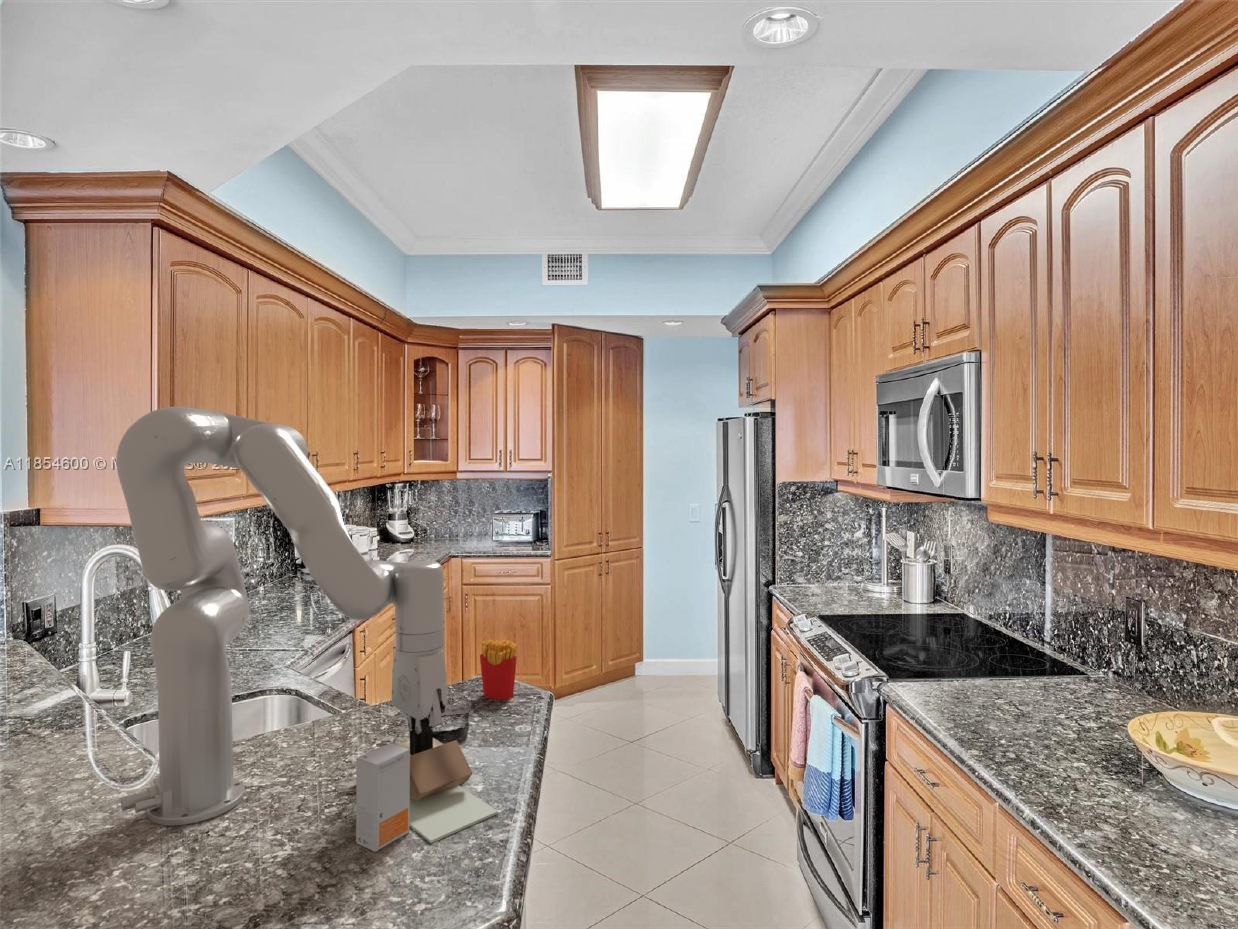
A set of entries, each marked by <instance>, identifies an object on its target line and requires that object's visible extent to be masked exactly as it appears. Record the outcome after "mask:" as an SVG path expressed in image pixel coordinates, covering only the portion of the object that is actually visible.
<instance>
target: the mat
mask: <svg viewBox="0 0 1238 929" xmlns="http://www.w3.org/2000/svg"><path fill="white" fill-rule="evenodd" d="M498 814H499V812H498V810H497V809H495V808H494V807H492V806H491V805H489V804H488V803H486V801H485V802H484V801H483V800H482V799H480V798H479V797H477V796H475V795H474V794H473V793H471V792H470V791H469V790H467V789H464V788H463V787H462V786H460V784H459V785H457V786H454V787H452V788H449V789H447V790H444V791H442V792H439V793H437V794H434V795H432V796H429V797H427V798H424V799H422V800H419V801H417V802H415V801H414V799H412V800H410V820H409V828H411V829H412V830H413V831H415V833H417V834H418V835H419V836H421V837H422V838H424V840H426V841H427V842H428V843H429V844H432V843H436V842H437V841H439V840H441V839H444V838H446V837H448V836H452V835H453V834H455V833H457V832H460V831H463V830H466V829H467V828H468V827H471V826H474V825H475V824H479V823H480V822H482V821H485V820H487V819H489V818H491V817H493V816H496V815H498Z"/></svg>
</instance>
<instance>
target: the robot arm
mask: <svg viewBox="0 0 1238 929" xmlns="http://www.w3.org/2000/svg"><path fill="white" fill-rule="evenodd" d="M308 448H309V447H308V444H307V442H306V440H305V438H304V436H303V435H302V434H301V433H300V432H299V431H298V430H296V429H295V428H293V427H292V426H289V425H285V424H280V423H273V422H268V421H263V420H257V419H253V418H247V417H244V416H239V415H235V414H230V413H225V412H221V411H216V410H211V409H203V408H196V407H195V408H194V407H187V406H168V407H163V408H162V407H161V408H158V409H154V410H152V411H149V412H148V413H146V414H144V415H142V416H141V417H139V418H138V419H136V421H134V423H132V424H131V426H129V428H128V429H127V430H126V431H125V433H124V434H123V435H122V437H121V440H120V442H119V445H118V448H117V451H116V470H117V475H118V480H119V483H120V488H121V490H122V493H123V496H124V499H125V504H126V507H127V511H128V514H129V518H130V524H131V527H132V528H131V529H132V533H133V535H134V540H135V544H136V547H137V551H138V555H139V560H140V563H141V567H142V570H143V574H144V575H145V578H146V579H147V581H148V582H149V583H150V584H151V585H152V586H153V587H155V589H156V588H157V589H158V590H162V591H166V592H167V591H168V592H175V591H179V592H180V595H181V599H179V600H176V601H175V602H173V603H172V604H170V605H169V606H168V607H166V608H165V609H164V610H163V611H161V613H160V615H159V616H158V617H157V618H156V620H155V622H154V624H153V626H152V628H151V633H150V650H151V655H152V661H153V665H154V668H155V675H156V688H157V689H156V691H157V715H158V755H159V756H158V758H159V768H158V769H159V777H158V778H155V779H153V785H152V786H149V787H147V788H146V790H145V791H141V792H138V793H136V792H135V793H131V794H130V795H125V796H122V797H120V808H121V812H124V811H125V812H126V811H128V810H132V809H134V812H135V814H137V813H141V812H144V811H147V818H148V819H149V820H150V821H151V822H152V823H155V824H158V825H161V826H182V825H183V826H184V825H190V824H197V823H200V822H202V821H207V820H209V819H213V818H216V817H218V816H221V815H222V814H225V813H226V812H229V811H230V810H231V809H233V808H235V807H236V806H237V805H238V804H240V802H241V801H242V800H243V799H244V797H245V794H246V790H245V789H246V788H245V784H244V783H243V782H242V781H241V780H239V779H236V778H234V750H233V749H234V748H233V747H234V746H233V742H234V741H233V740H234V739H233V737H234V736H233V696H232V693H233V692H232V676H231V670H230V669H231V668H230V665H229V661H228V656H227V644H229V643H230V642H231V641H233V640H234V639H235V638H237V637H238V636H239V635H240V634H241V633H242V631H243V630H244V629H245V627H247V624H248V622H249V617H250V602H249V596H248V594H247V590H246V586H245V581H244V577H243V572H242V569H241V565H240V562H239V559H238V554H237V551H236V548H235V547H236V546H235V544H234V543H233V541H232V539H231V537H230V535H229V534H228V533H227V531H226V530H225V529H223V527H221V526H219V525H217V524H216V523H213V522H210V521H206V520H202V519H201V516H200V513H199V510H198V506H197V505H198V504H197V501H196V496H195V494H194V491H193V489H192V486H191V484H190V482H189V481H188V479H187V477H186V474H185V467H186V466H187V465H191V464H192V465H193V464H212V465H217V466H224V467H228V468H233V469H237V470H240V471H241V472H242V473H243V474H244V476H245V477H246V478H247V479H248V481H249V482H250V483H251V485H252V486H253V487H254V489H256V491H257V492H258V493H259V495H260V496H261V497H262V498H263V500H264V501H265V502H266V504H267V505H268V506H269V507H270V509H271V510H272V511H273V512H274V514H275V515H276V517H277V518H278V519H279V521H281V523H282V525H283V526H284V527H285V529H287V531H288V533H289V536H290V539H291V542H292V545H293V546H294V547H295V549H296V550H297V553H298V556H299V557H300V559H301V561H302V563H303V565H304V567H305V569H306V570H307V573H308V574H309V576H310V577H311V578H312V579H313V581H314V582H315V584H316V585H317V586H318V587H319V589H320V590H321V591H322V593H323V594H324V595H325V596H326V597H327V599H328V600H329V601H330V603H331V604H333V606H334V607H335V608H336V609H337V611H339V612H340V613H341V614H343V615H344V616H346V617H348V618H350V619H352V620H357V621H358V620H359V621H363V620H368V619H372V618H374V617H375V616H377V615H379V614H380V613H381V612H382V611H383V610H384V608H385V607H386V606H388V605H390V604H392V605H394V618H395V619H394V628H395V630H394V631H395V633H394V634H395V635H394V637H395V642H394V643H395V646H394V647H395V648H394V653H393V659H392V670H391V671H392V672H391V673H392V674H391V704H392V706H394V708H396V709H397V710H398V711H401V712H402V713H405V715H406V719H407V721H406V722H407V728H408V730H409V741H410V755H414V754H417V753H420V752H423V751H426V750H429V749H431V748H433V732H434V731H433V730H434V729H435V727H437V726H439V725H442V723H443V720H442V718H443V717H441V713H444V712H445V711H446V709H447V708H448V681H447V670H446V669H447V668H446V667H447V666H446V658H445V652H444V649H445V575H444V574H445V573H444V568H443V566H442V565H441V564H440V563H439V562H438V561H434V560H413V561H407V562H401V561H400V562H399V561H389V560H381V559H371V560H370V559H368V560H366V559H365V558H364V556H363V555H362V554H361V552H360V551H359V549H358V548H357V546H356V545H355V544H354V542H353V540H352V539H351V537H350V534H349V533H348V531H347V528H346V526H345V523H344V520H343V514H342V513H343V512H342V507H341V503H340V501H339V499H338V498H339V497H338V496H337V495H336V493H335V492H334V491H333V490H332V488H331V487H330V486H329V485H328V483H327V482H326V480H325V479H324V478H323V477H322V476H321V474H320V473H319V471H318V470H317V469H316V467H315V466H314V465H313V464H312V462H311V461H310V460H309V458H308V455H309V449H308ZM427 717H428V718H427Z"/></svg>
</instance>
